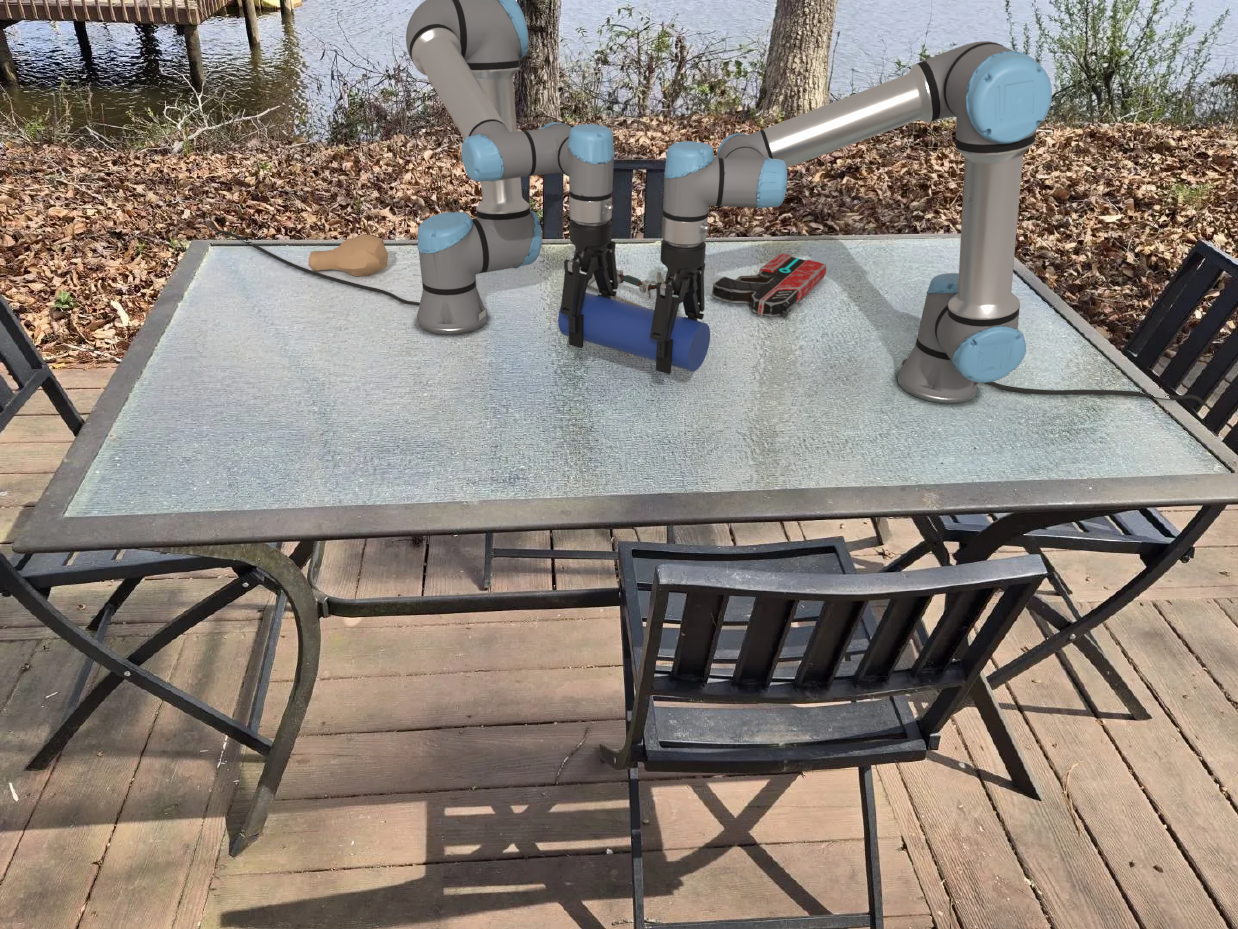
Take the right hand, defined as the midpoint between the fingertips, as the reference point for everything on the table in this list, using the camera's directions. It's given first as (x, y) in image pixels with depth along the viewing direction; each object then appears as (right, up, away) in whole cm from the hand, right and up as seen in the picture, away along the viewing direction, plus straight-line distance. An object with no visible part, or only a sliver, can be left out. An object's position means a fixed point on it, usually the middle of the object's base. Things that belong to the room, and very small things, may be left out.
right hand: (675, 361), depth 159 cm
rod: (-8, +2, +4) cm, 9 cm away
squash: (-78, +30, +61) cm, 103 cm away
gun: (+27, +24, +57) cm, 68 cm away
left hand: (-16, +6, +8) cm, 18 cm away
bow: (-7, +19, +49) cm, 53 cm away
